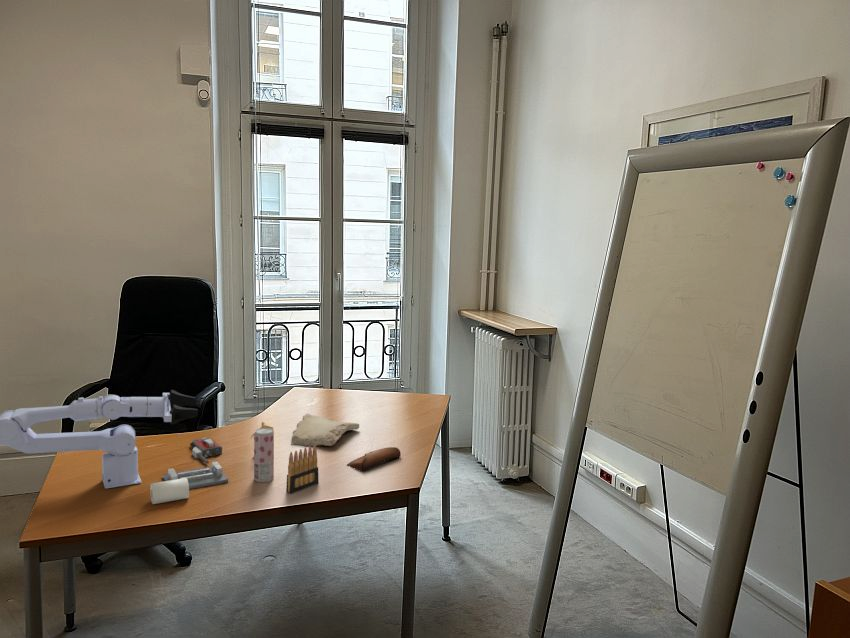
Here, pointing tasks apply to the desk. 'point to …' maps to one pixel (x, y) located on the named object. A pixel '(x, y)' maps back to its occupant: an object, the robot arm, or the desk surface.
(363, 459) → the sunglasses case
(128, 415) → the robot arm
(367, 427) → the desk surface
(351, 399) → the desk surface
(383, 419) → the desk surface
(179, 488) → the paper roll
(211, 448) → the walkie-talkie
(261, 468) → the beverage can
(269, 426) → the figurine
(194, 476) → the roll cradle
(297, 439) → the flat sandstone slab
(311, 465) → the ammunition clip
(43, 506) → the desk surface
